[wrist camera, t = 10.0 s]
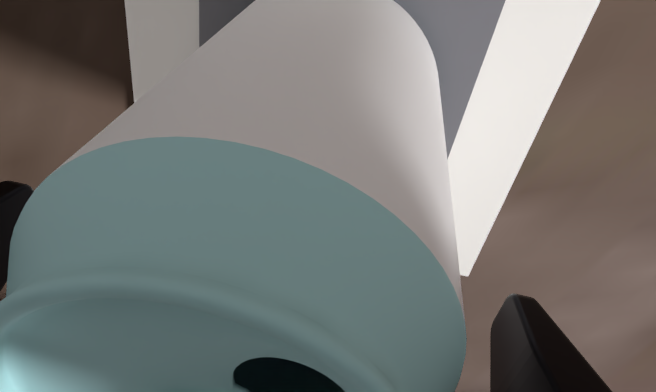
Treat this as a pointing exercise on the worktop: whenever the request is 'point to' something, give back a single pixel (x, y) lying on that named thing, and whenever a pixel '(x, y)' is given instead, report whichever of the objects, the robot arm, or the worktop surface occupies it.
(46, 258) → the can
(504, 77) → the dock
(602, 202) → the worktop surface
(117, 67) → the worktop surface
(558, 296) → the worktop surface
